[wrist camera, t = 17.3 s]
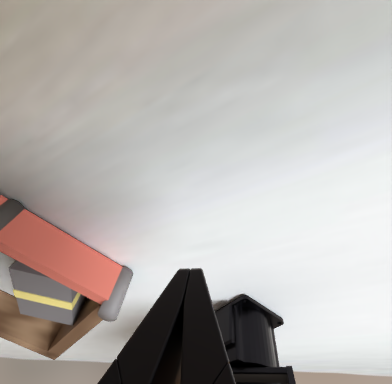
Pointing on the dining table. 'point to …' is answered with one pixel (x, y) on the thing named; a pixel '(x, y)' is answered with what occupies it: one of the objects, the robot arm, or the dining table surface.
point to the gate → (62, 258)
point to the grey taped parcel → (44, 296)
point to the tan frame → (44, 327)
